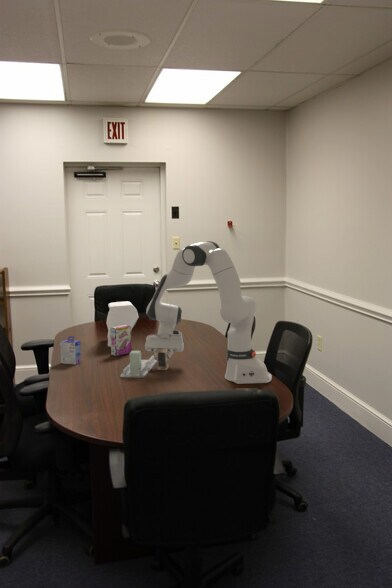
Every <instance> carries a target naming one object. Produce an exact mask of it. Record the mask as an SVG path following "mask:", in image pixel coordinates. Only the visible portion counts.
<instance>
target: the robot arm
mask: <svg viewBox="0 0 392 588" xmlns="http://www.w3.org/2000/svg"><path fill="white" fill-rule="evenodd" d="M177 251H178V252H177V254H176V255H175V257H174V261H173V264H172V267H171V270H170V271H169V272H168V273H166V274H164V275H163V276H162V277H161V279H160V281H159V283H158V285H157V287H156V289H155V292H154V293H153V295H152V297H151V300H150V302H149V303H148V305H147V307H146V310H145V311H146V312H145V314H146V316H147V317H148V318H149V320H151V321H159V326H158V330H157V334H149V335H147V336H146V338H145V344H144V349H145V351H146V352H154V357H155V359H158V356H157V351H158V350H159V349H168V354H167V358H168V359H171V356H172V355H173V354H174V353H175V352H177V353H178V352H181V353H182V352H183V351H184V345H185V344H184V340H183V334H182V332H181V331H179V330H177V329H175V327H176V326H177V325H178V324H180V323H181V321H182V312H183V310H182V308H181V307H180V306H179V305H176V304H172V303H166V302H162V301H161V299H162V297H163V296H164V293H165V292H166V291H167V290H169V289H172V288H173V289H174V288H180V287H183V286H186V285H189V283H190V282H191V281H192V278H193V276H194V272H195V267H201V266H202V267H203V266H205V265H206V266H207V267H208V268H209V269H210V271H211V275H212V276H213V278H214V282H215V285H216V287H217V289H218V293H219V298H220V299H219V300H220V313H219V314H220V317H221V319H222V320H223V321H224V322H225V323H228V324H230V325H229V328H228V331H227V349H226V361H227V362H226V363H227V364H226V371H225V374H224V379H225V380H227V381H229V382H234V383H235V384H238V385H240V384H242V385H243V384H267V383H270V382H271V381H272V380H273V377H272V374H271V373H270V372H268V369H267V366H266V364H265V363H264V362H263V361H261V360H260V359H259V358H258V357H256V356H257V352H256V350H255V349H252V345H251V344H252V328H253V324H254V318H255V312H256V309H257V302H256V300H255V299H254V298H253V297H251V296H248V295H242V292H241V291H242V289H241V278H240V277H239V274H238V272H237V270H236V267H235V264H234V262H233V260H232V259H231V257H230V255H229V253H228V252H227V251H226V249H225V248H220V246H219V245H218V243H217V242H214V241H212V240H211V241H198V242H195V243H191V244H188V245H186V246H185V247H184V248H180V249H179V250H177Z"/></svg>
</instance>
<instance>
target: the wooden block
mask: <svg viewBox="0 0 392 588" xmlns="http://www.w3.org/2000/svg"><path fill="white" fill-rule="evenodd" d="M167 354H169V351H168V349H159V350H158V351H157V356H158V358H157V370H158V371H167V370H168V369H169V358H167Z"/></svg>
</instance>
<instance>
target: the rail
mask: <svg viewBox="0 0 392 588" xmlns="http://www.w3.org/2000/svg"><path fill="white" fill-rule="evenodd" d="M157 363H158V359H156V358H155V354H154V355H151V356H150V357H149V358H148V359H142V351H141V350H131V352H130V353H129V363H128V365H126V366H125V367H124V369H123V370H122V373H121V374H120V375H119V376H120V378H129V379H130V378H133V379H134V378H135V379H136V378H137V379H138V378H139V379H142V378H143V379H145V378H146V376H147V375H148V374H149V373H150V372H151V370H152V369H153V367H154V366H155V365H156V364H157Z"/></svg>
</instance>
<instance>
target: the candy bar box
mask: <svg viewBox="0 0 392 588" xmlns="http://www.w3.org/2000/svg"><path fill="white" fill-rule="evenodd" d="M131 351H132V330H131V326H130V325H121V326H116V327H111V347H110V354H111V356H114V357H119V356H124V355H127V354H130V352H131Z"/></svg>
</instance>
